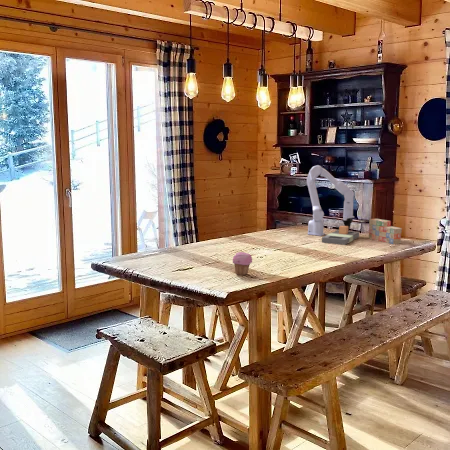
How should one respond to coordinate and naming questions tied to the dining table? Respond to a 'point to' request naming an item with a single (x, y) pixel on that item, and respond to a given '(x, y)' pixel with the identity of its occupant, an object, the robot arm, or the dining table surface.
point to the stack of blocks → (384, 231)
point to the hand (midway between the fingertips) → (347, 230)
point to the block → (343, 229)
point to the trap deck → (340, 237)
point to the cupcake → (242, 263)
